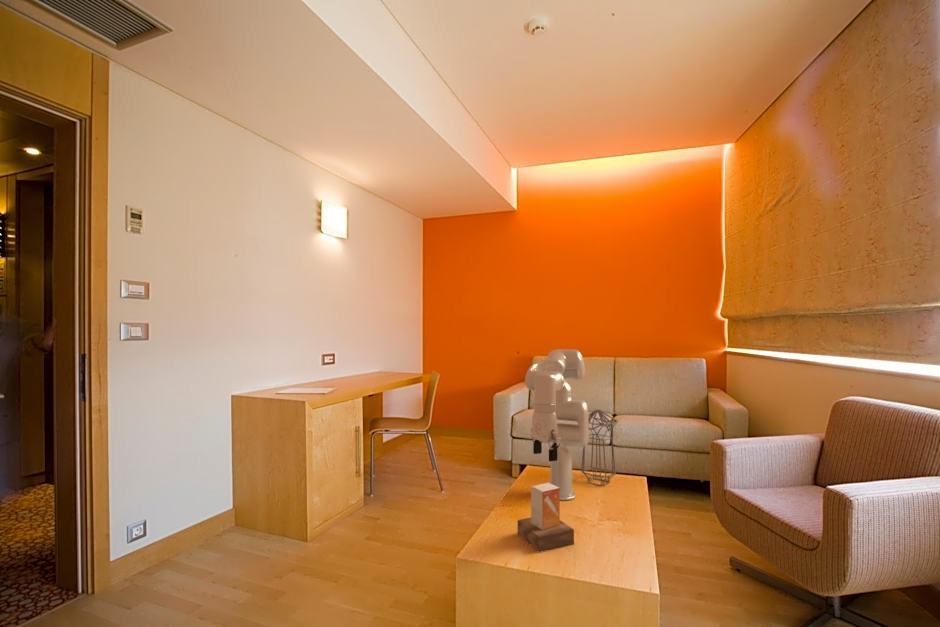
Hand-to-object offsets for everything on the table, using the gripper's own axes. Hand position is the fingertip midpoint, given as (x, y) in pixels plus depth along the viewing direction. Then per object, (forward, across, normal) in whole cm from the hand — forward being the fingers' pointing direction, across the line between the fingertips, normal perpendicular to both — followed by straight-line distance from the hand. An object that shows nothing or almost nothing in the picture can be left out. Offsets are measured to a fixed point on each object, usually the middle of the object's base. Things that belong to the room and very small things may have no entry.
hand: (545, 457), depth 152 cm
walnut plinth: (+28, 0, 0) cm, 28 cm away
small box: (+24, 0, 0) cm, 24 cm away
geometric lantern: (+29, -40, +58) cm, 76 cm away
